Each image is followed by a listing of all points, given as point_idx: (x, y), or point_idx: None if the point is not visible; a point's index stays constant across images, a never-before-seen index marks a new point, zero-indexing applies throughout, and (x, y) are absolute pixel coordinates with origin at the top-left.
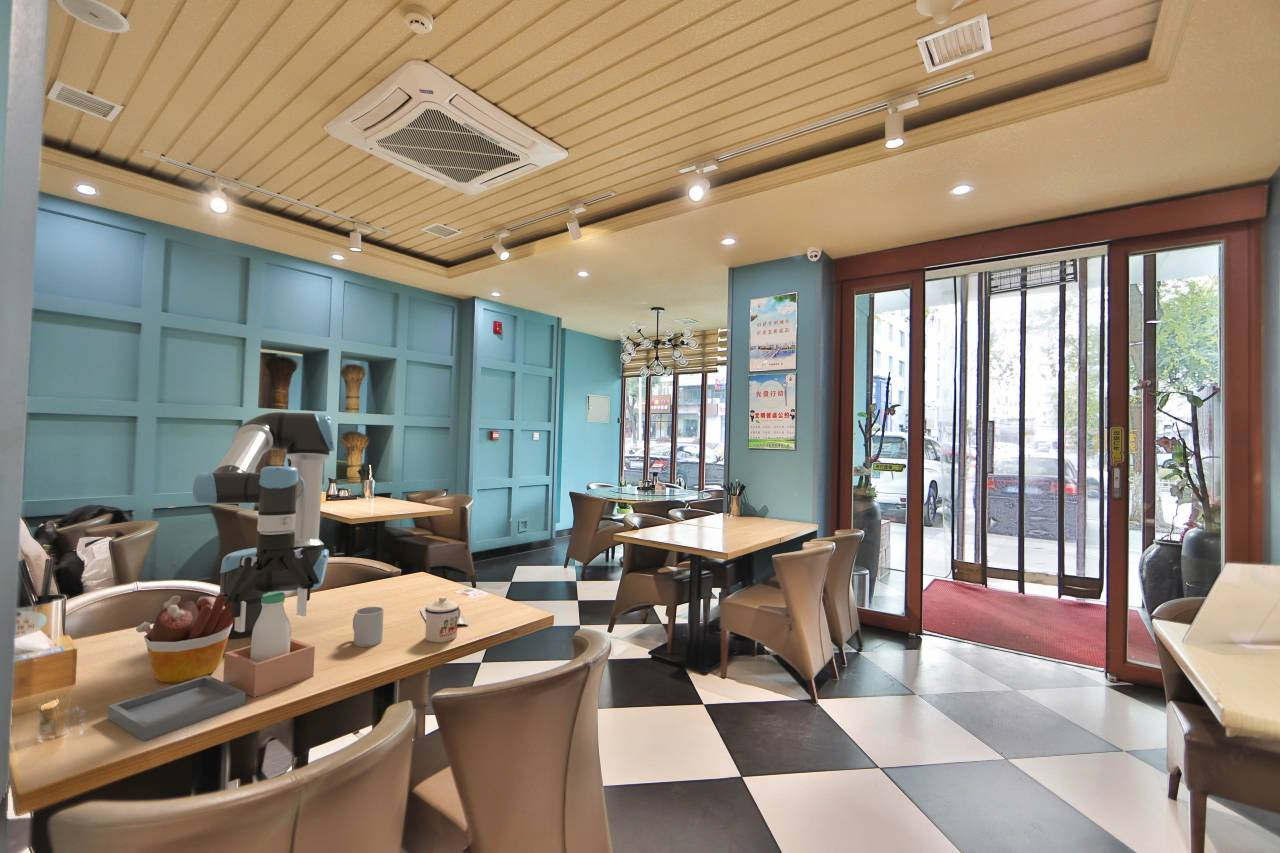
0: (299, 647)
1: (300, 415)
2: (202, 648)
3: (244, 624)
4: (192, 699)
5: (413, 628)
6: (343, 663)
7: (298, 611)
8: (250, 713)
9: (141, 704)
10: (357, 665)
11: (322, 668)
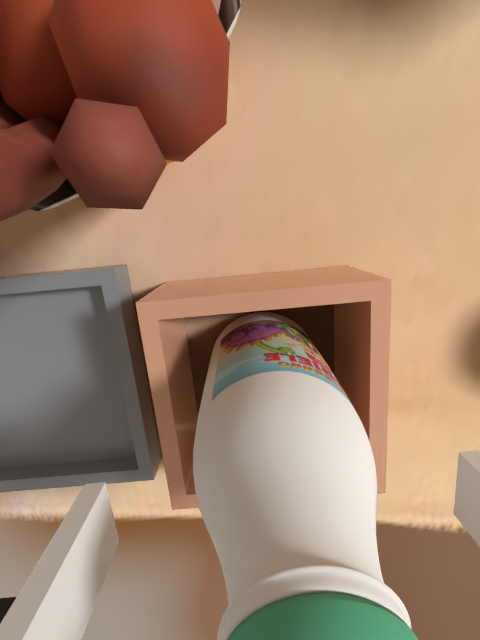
0: (364, 422)
1: None
2: (64, 197)
3: (100, 582)
4: (62, 368)
5: None
6: (451, 406)
7: (475, 488)
8: (153, 509)
9: None
10: (461, 448)
11: (395, 394)
